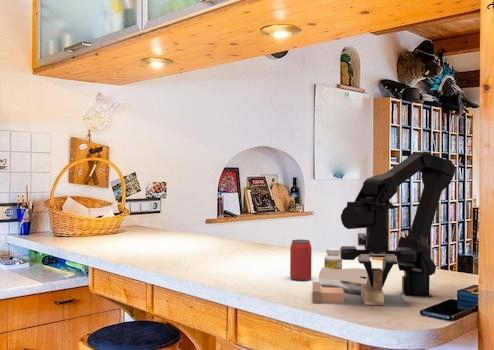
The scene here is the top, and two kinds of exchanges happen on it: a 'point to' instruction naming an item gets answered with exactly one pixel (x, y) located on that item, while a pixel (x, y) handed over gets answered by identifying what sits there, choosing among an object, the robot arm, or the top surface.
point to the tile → (332, 295)
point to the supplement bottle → (333, 259)
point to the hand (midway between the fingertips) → (376, 286)
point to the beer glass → (344, 279)
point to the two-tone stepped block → (373, 289)
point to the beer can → (300, 260)
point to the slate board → (358, 299)
